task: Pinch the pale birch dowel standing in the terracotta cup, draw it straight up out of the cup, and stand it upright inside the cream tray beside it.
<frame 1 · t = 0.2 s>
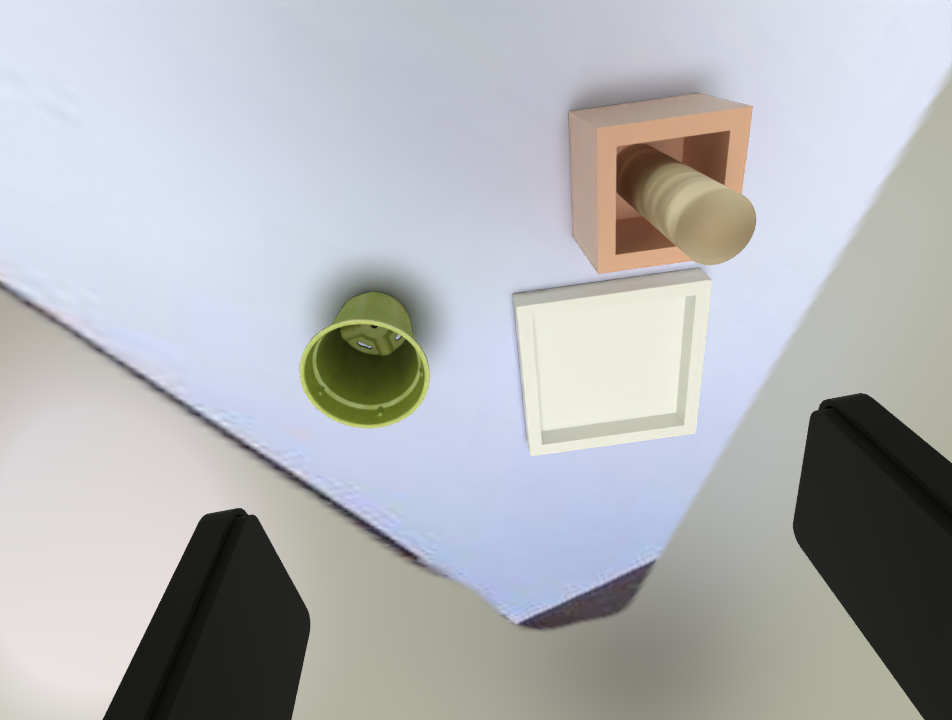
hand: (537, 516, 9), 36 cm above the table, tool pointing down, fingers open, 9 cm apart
terracotta cup: (631, 169, 42), on the table
cream tray: (605, 360, 51), on the table
birch dowel: (635, 171, 41), point 1 cm above the table, touching terracotta cup
plant pot: (376, 322, 48), on the table
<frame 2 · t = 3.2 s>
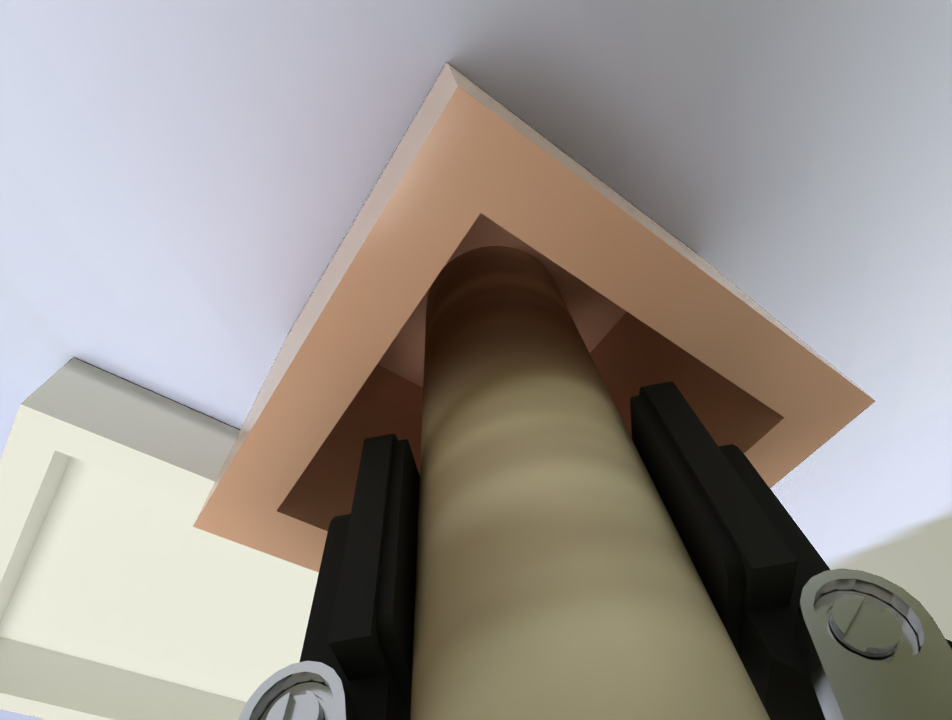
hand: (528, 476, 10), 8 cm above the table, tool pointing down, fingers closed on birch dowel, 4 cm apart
terracotta cup: (490, 296, 17), on the table
cream tray: (220, 583, 23), on the table
birch dowel: (492, 310, 17), point 1 cm above the table, touching gripper, terracotta cup
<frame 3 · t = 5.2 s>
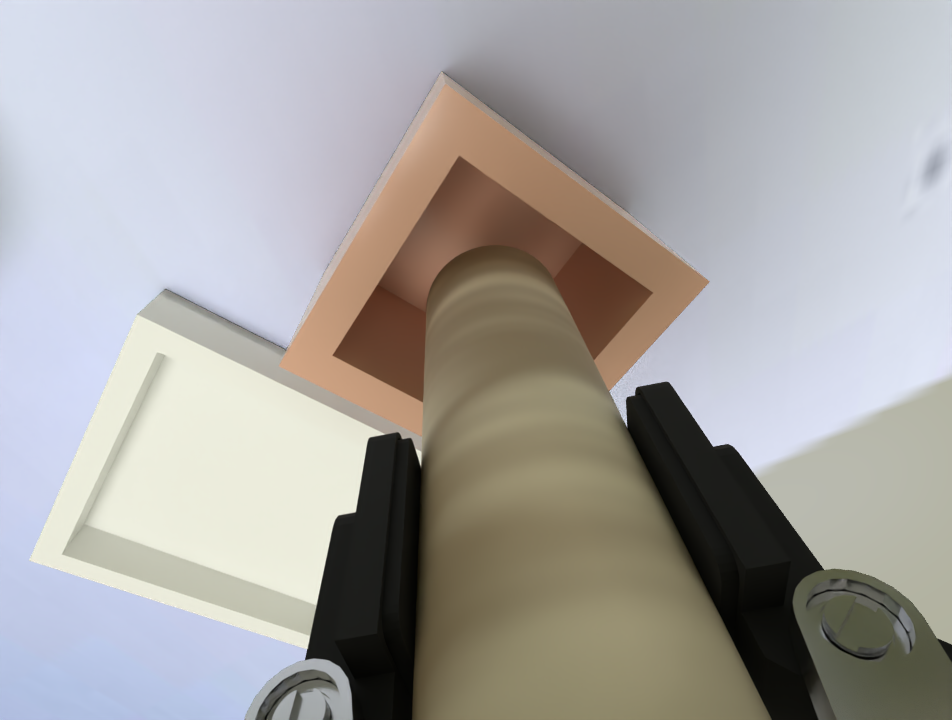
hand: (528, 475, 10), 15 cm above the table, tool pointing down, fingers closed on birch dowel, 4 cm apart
terracotta cup: (474, 243, 24), on the table
cream tray: (263, 483, 29), on the table
birch dowel: (493, 309, 17), point 8 cm above the table, touching gripper
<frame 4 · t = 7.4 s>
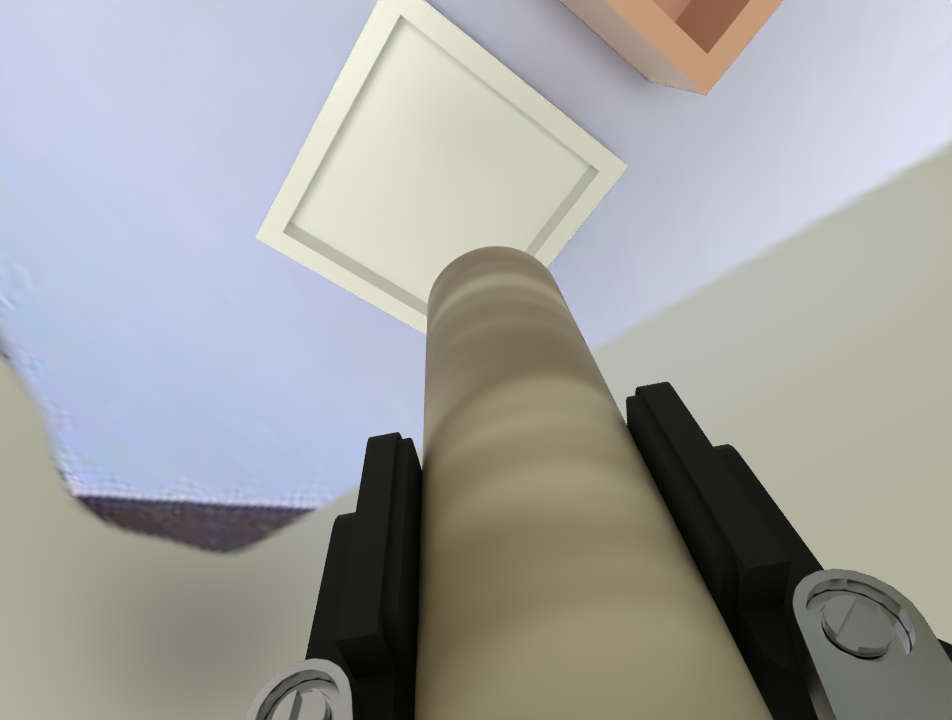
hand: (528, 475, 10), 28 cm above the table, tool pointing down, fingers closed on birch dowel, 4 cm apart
cream tray: (439, 191, 35), on the table
birch dowel: (494, 310, 17), point 21 cm above the table, touching gripper
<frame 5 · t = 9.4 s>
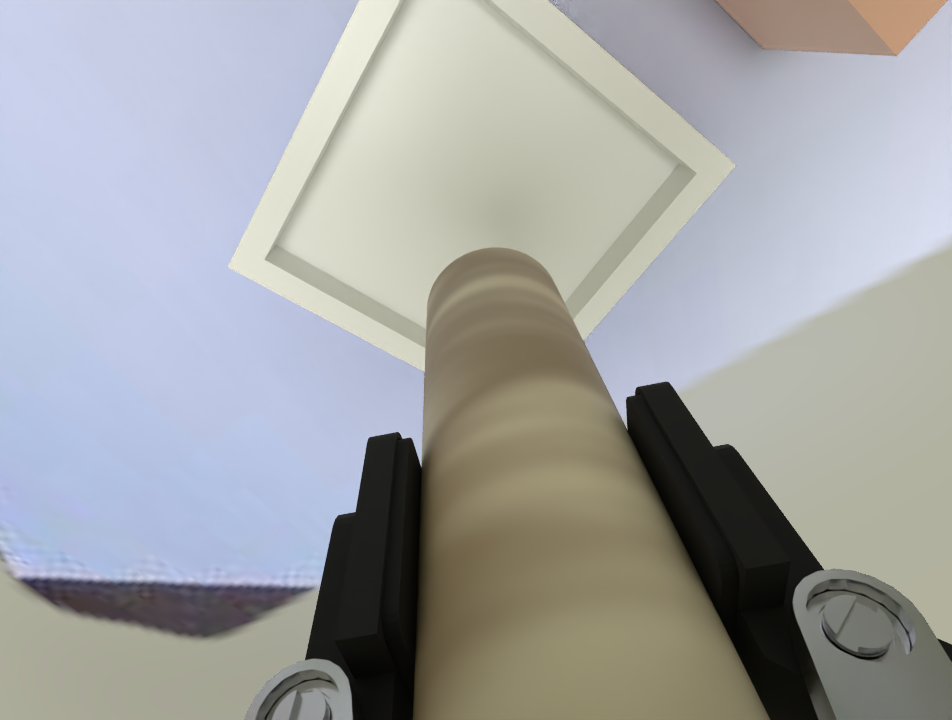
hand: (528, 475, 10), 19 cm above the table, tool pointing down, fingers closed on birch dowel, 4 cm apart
cream tray: (473, 201, 26), on the table
birch dowel: (493, 311, 17), point 11 cm above the table, touching gripper
when the fingers open (9 cm above the table, at t = 11.4 s): birch dowel drops 1 cm, resting on cream tray.
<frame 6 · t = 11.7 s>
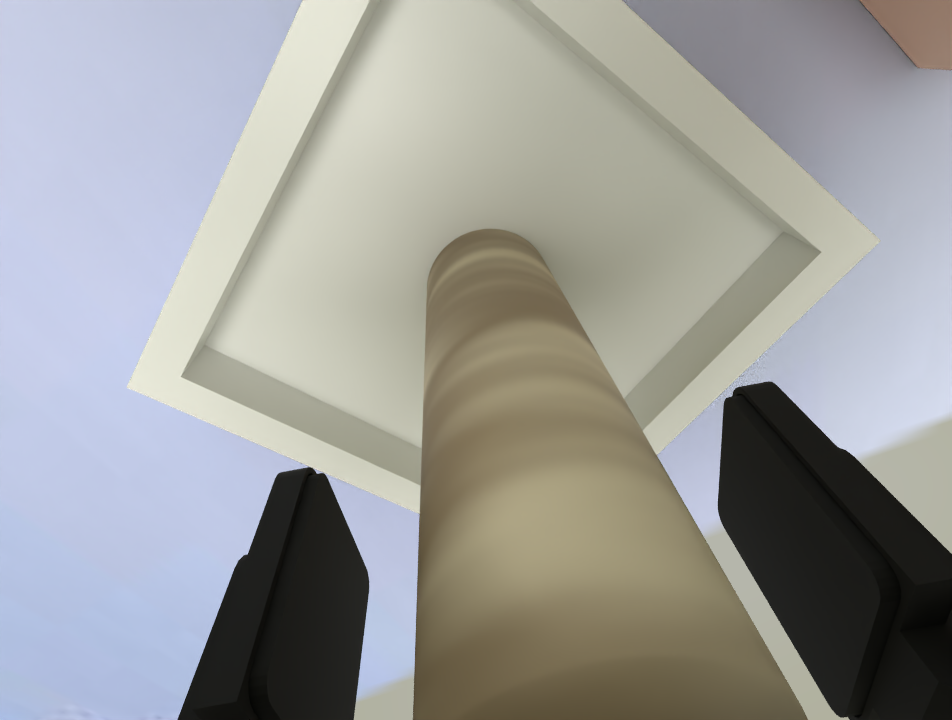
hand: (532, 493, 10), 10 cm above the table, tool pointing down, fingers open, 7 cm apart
cream tray: (486, 282, 18), on the table
birch dowel: (488, 289, 18), point 1 cm above the table, touching cream tray
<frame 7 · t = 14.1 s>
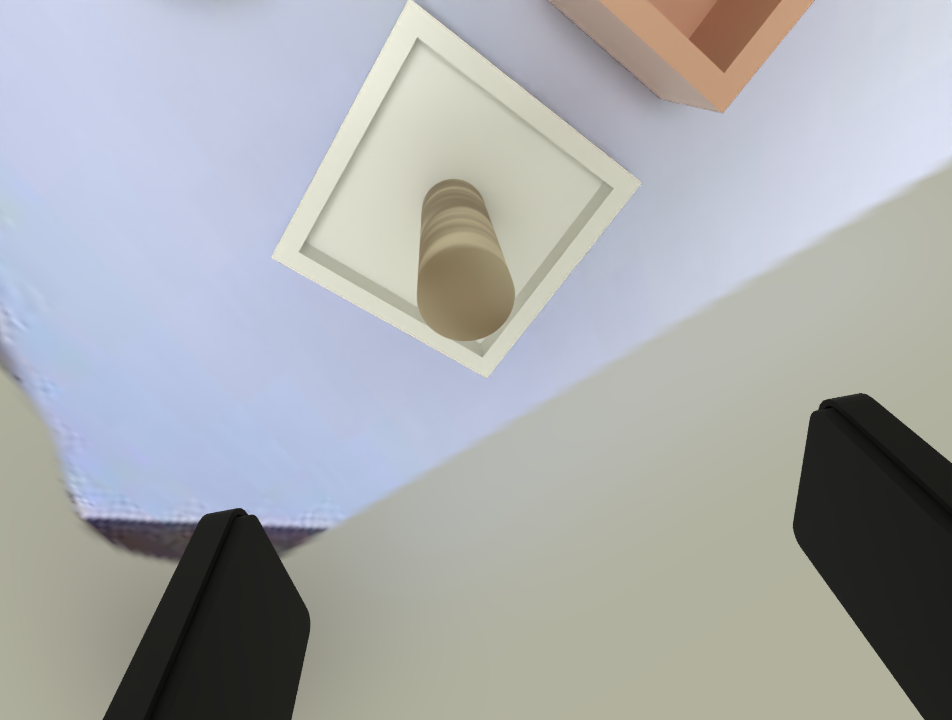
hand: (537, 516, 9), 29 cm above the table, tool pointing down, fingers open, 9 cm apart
cream tray: (453, 209, 35), on the table
birch dowel: (453, 211, 35), point 1 cm above the table, touching cream tray
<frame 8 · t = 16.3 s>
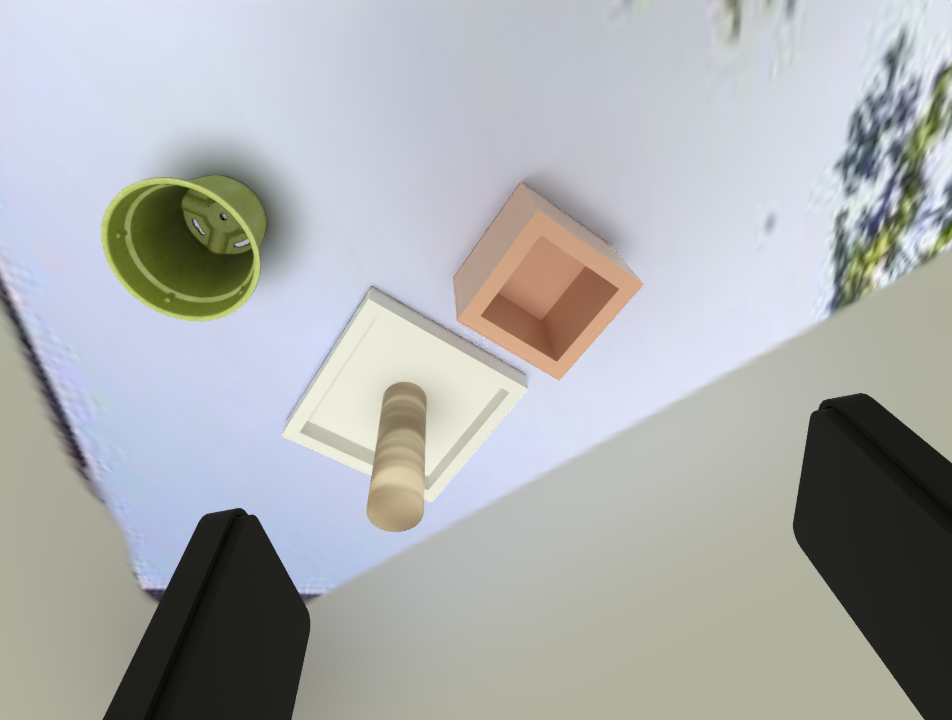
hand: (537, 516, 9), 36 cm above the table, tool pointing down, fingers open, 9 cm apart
terracotta cup: (532, 262, 46), on the table
cream tray: (405, 396, 51), on the table
birch dowel: (404, 400, 51), point 1 cm above the table, touching cream tray
plant pot: (227, 215, 42), on the table
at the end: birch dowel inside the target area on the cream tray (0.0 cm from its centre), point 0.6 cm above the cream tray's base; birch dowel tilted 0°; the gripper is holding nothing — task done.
